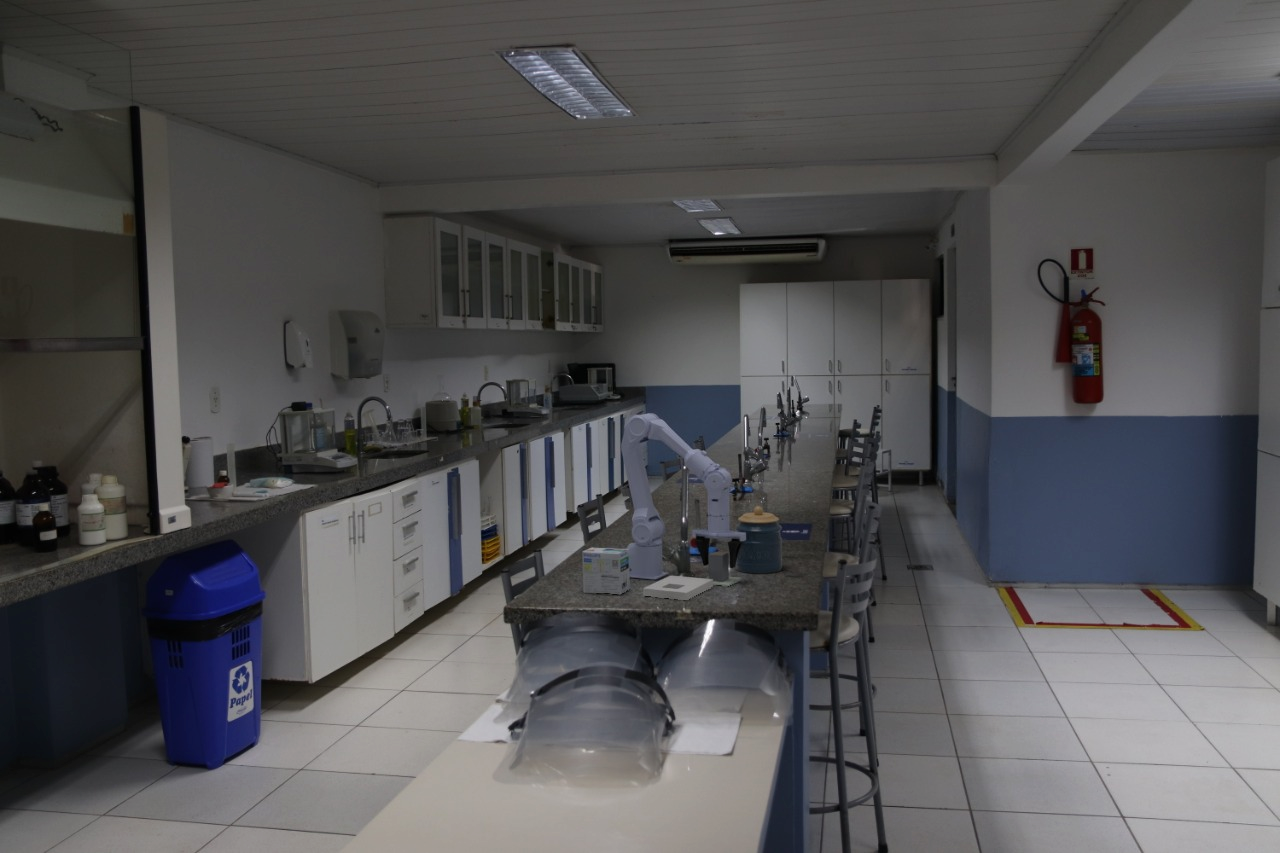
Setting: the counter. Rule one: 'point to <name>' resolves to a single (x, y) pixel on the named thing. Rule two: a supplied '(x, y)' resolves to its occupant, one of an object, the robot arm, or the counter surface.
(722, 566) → the plug
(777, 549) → the canister
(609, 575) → the light bulb box
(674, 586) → the plate
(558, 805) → the counter surface
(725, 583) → the mat
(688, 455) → the robot arm
